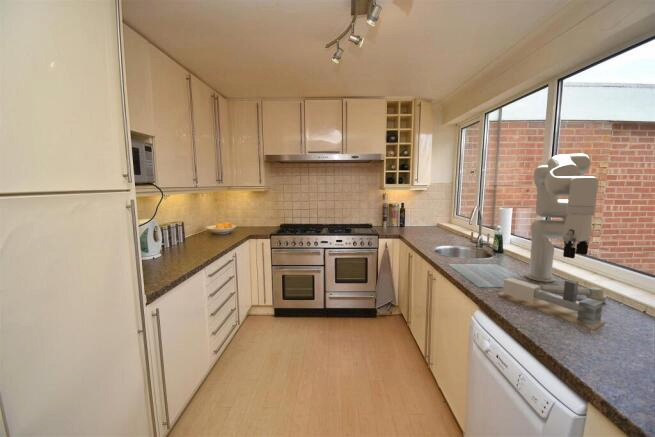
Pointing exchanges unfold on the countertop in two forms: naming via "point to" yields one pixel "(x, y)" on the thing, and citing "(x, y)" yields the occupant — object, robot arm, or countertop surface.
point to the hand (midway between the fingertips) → (575, 255)
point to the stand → (569, 311)
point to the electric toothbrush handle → (589, 292)
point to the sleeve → (520, 289)
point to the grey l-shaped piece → (566, 300)
